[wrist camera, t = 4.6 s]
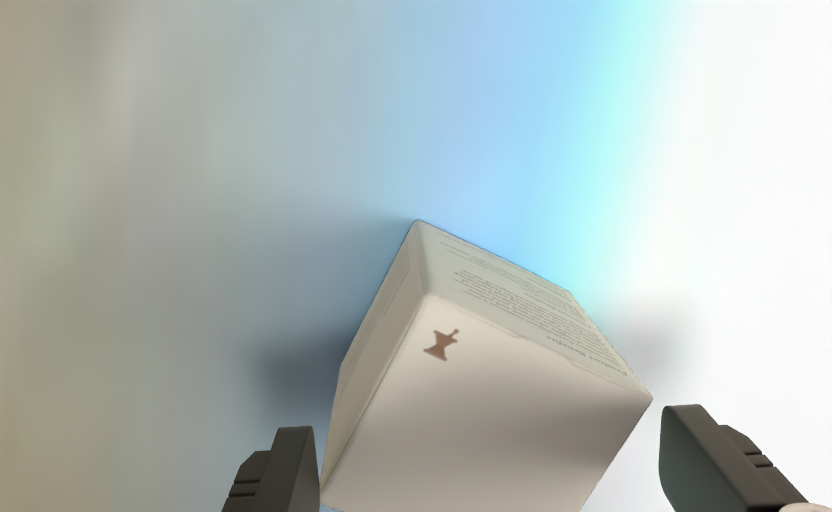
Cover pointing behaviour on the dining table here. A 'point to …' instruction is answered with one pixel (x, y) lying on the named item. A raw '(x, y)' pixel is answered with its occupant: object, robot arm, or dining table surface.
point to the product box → (474, 391)
